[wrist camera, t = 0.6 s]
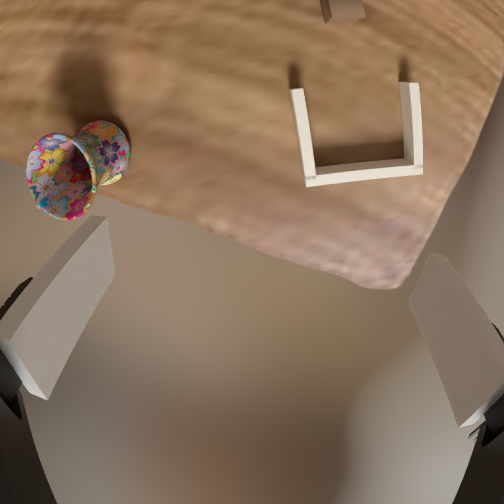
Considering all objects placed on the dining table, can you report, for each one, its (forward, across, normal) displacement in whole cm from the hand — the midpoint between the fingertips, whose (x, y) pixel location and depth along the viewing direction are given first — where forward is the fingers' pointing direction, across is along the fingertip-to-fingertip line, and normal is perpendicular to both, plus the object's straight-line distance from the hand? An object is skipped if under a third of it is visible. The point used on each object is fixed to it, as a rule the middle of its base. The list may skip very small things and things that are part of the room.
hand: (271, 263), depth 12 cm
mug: (+26, -21, -4) cm, 34 cm away
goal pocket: (+26, +10, +3) cm, 28 cm away
